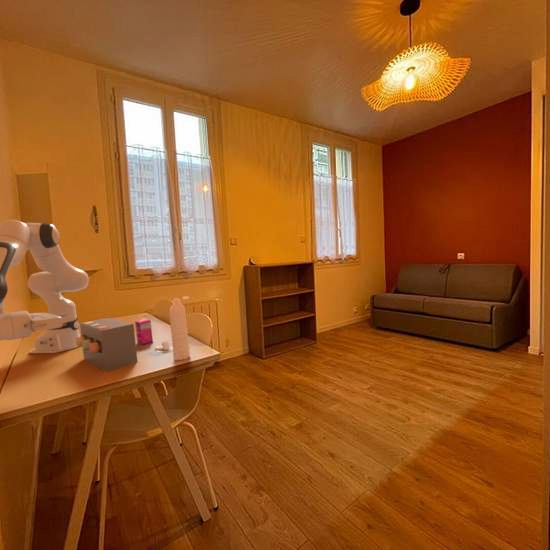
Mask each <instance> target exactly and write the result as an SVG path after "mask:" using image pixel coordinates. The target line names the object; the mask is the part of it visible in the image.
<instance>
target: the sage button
mask: <svg viewBox="0 0 550 550" xmlns="http://www.w3.org/2000/svg"><path fill="white" fill-rule="evenodd" d="M90 343H93V340H92V339H87V340H83V341H82V346H81V347H82V350H83V349H84V350H88V349H89V344H90Z"/></svg>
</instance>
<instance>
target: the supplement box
mask: <svg viewBox="0 0 550 550" xmlns="http://www.w3.org/2000/svg"><path fill="white" fill-rule="evenodd" d="M134 328H135V334H136V335H135V337H136V344H138V345H140V346H144V345H148V344H153V343H154V341H153V331H152V330H153V329H152V322H151V320H150V319H147V318H145V319H141V320H136V321H134Z"/></svg>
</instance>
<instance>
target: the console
mask: <svg viewBox="0 0 550 550" xmlns="http://www.w3.org/2000/svg"><path fill="white" fill-rule="evenodd" d="M79 328H80V337H82V336H85V337H86V339H92V340H93V343H94V342H99V343H100V346H101V351H100V352H97V353H93V354H91V353H90V351H89V349H88V350H84V349H83V348H82V353H83V360H85V361H87V362H88V363H90V364H91V365H94V366H95V367H97V368H99V369H100V370H102V371H103V372H110V371H113V370H116V369H119V368H122V367H126V366H129V365H132V364H136V363H138V353H137V345H136V344H137V342H136V335H135V334H136V332H135V323H132V322H128V321H123V320H120V319H115V318H112V317H105V318H100V319H95V320H89V321H84V322H80V323H79Z"/></svg>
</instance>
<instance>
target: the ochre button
mask: <svg viewBox="0 0 550 550" xmlns="http://www.w3.org/2000/svg"><path fill="white" fill-rule="evenodd" d="M83 340H87V339H86V337H85V336H82V337H81V336H80V337H78V338H76V343H77V346H78V347H77V348H80V347H83V346H82V341H83Z"/></svg>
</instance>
